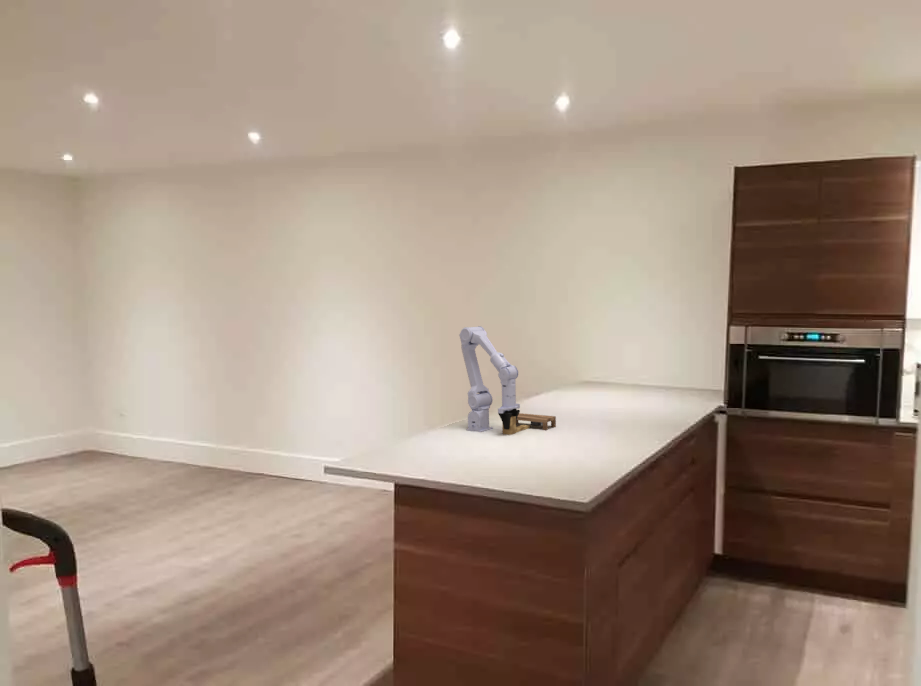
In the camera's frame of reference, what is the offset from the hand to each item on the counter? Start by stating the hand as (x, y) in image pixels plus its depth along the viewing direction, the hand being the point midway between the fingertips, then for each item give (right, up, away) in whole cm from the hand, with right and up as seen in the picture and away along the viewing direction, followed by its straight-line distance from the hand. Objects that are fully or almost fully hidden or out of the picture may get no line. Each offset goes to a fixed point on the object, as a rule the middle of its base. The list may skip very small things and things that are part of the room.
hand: (509, 428), depth 309 cm
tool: (+4, -2, +6) cm, 7 cm away
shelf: (+10, -1, +14) cm, 18 cm away
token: (+14, -1, +20) cm, 25 cm away
